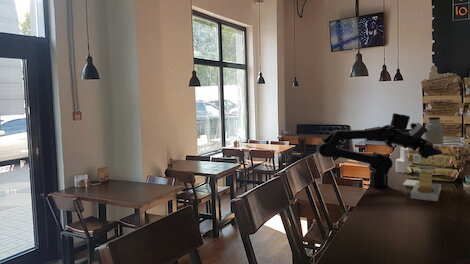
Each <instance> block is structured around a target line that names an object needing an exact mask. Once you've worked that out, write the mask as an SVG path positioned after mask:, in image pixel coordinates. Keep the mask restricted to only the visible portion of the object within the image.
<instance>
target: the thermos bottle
mask: <svg viewBox="0 0 470 264" xmlns="http://www.w3.org/2000/svg"><path fill="white" fill-rule="evenodd" d="M440 119H441V117H439V116H438V117H437V116H433V117H432V116H431V117H428V122H427V123H426V125H425V128H427V129H428V130H427V132H425V133H424V139H425V140H427V141H429V142H430V143H432V144H443V145H444V128H442V127H443V124H442V123H441V121H440Z"/></svg>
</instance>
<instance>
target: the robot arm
mask: <svg viewBox="0 0 470 264" xmlns="http://www.w3.org/2000/svg"><path fill="white" fill-rule="evenodd" d="M391 117H392V118H391V122H390V124H386V125H384V126H375V127H369V128H367V129H350V130H349V129H348V130H339V129H335V130H334V131H332V133H331V134H330V135H328V136H327V137H326V138H325V139H324V140H322V141H320V142H318V143H317V145H316V147H315V149H316V150H315V151H316V152H317V154H319V155H321V157H324V158H342V159H347V160H351V161H356V162H359V163H365V164H368V168H369V171H370V172H369V179H370V180H369V183H368V184H367V185H368V186H370V187H372V188H375V189H382V188H390V185H389V180H388V179H389V175H388V174H389V171H390V169H391V168H392V167H393V164H394V163H393V160H392V159H391V158H390V157H389V156H388V155H386V154H384V153H382V152H381V153H378V152H375V151H372V154H367V153H362V152H358V151H353V150H349V149H345V148H341V147H338V144H340V142H341V141H342V140H364V139H365V140H366V139H367V140H374V141H379V142H380V141H381V142H383V143H384V144H385V147H387V148H391V146H392V145H396V146H400V147H404V148H409V149H411V151H413V152H416V151H417V153H418V155H419V156H420V157H421V158H423V159H424V158H425V159H427V158H428V157H429V156H433V155H439V154H442V151H440V150H438V149H436V148H434V147H433V144H432V143H430V142H429V141H427V140H425V138H423V137H422V136H424V135H425V132H427V130H428V129H427V128H426V126H424V125H422V124H421V123H419V122H416V123H415V122H412V123H410V125H409V121H410V118H411V116H410V115H406V114H399V113H396V112H393V113H392V116H391ZM408 125H409V126H410V130H409V131H408V132H407V131H405V130H407V127H408ZM404 131H405V132H404ZM417 149H418V150H417Z"/></svg>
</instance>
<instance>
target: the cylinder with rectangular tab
mask: <svg viewBox="0 0 470 264" xmlns="http://www.w3.org/2000/svg"><path fill="white" fill-rule="evenodd" d="M399 151H400V155H399V158H396V159H395V172H396V173H398V172H401V173H400V174H406V173H405V172H406V169H407V166H408V164H409V162H408V159H407V153H408V148H404V147H403V146H400V150H399Z"/></svg>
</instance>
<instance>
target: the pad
mask: <svg viewBox="0 0 470 264" xmlns="http://www.w3.org/2000/svg"><path fill="white" fill-rule="evenodd" d="M416 182H419V179H418V180H416V179H405V181H404V182H403V183H402V186H405V187H414V186H415V184H416Z"/></svg>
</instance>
